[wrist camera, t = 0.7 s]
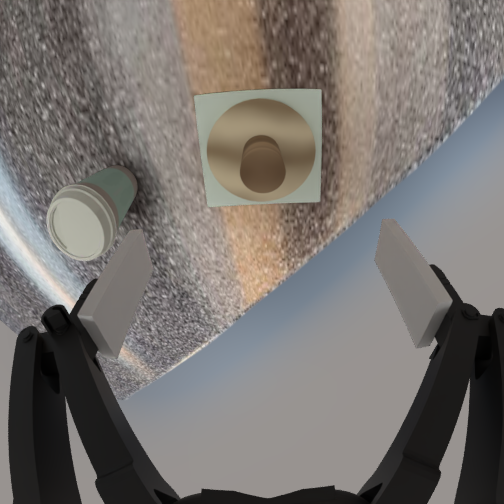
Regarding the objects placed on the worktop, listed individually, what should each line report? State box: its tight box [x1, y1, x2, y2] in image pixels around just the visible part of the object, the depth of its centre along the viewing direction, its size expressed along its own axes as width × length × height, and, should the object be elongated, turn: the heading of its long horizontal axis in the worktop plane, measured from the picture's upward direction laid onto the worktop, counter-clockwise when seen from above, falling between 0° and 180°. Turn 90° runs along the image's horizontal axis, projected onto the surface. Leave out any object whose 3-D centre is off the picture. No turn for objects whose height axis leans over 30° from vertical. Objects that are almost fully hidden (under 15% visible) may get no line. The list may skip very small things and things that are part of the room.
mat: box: [194, 89, 322, 207], centre depth 32 cm, size 14×14×1 cm
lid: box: [207, 98, 316, 202], centre depth 28 cm, size 12×12×8 cm
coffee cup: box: [47, 165, 138, 261], centre depth 30 cm, size 8×8×12 cm
